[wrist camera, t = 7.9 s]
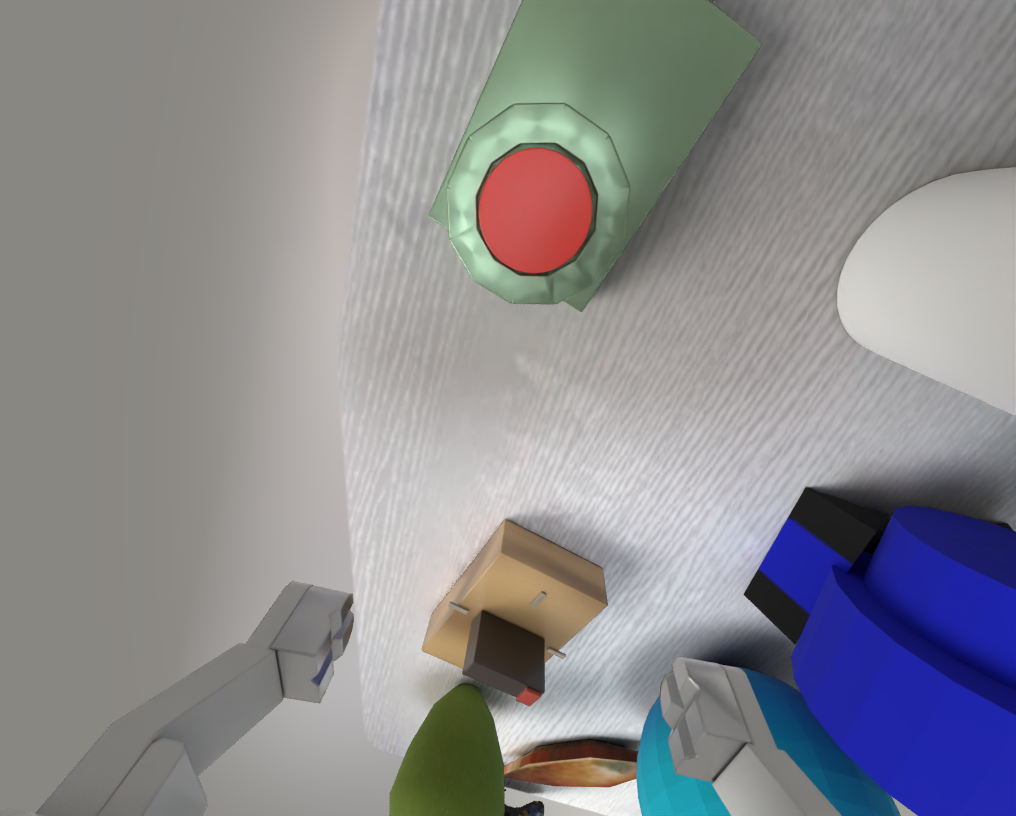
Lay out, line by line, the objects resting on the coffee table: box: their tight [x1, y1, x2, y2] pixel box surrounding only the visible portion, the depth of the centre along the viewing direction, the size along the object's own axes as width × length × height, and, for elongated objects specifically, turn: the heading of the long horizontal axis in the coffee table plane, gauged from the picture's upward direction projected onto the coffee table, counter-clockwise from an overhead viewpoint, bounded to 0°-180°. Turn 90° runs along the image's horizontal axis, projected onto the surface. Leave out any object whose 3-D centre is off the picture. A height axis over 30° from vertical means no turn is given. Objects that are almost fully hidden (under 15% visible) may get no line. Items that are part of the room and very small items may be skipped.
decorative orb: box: [636, 667, 901, 816], centre depth 27 cm, size 15×15×15 cm
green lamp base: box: [429, 0, 762, 312], centre depth 16 cm, size 12×8×4 cm
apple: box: [390, 684, 505, 816], centre depth 32 cm, size 9×8×12 cm
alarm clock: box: [744, 487, 1016, 816], centre depth 20 cm, size 12×12×15 cm
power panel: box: [421, 520, 608, 669], centre depth 29 cm, size 12×9×3 cm
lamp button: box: [479, 148, 592, 273], centre depth 15 cm, size 4×4×2 cm
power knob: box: [462, 610, 545, 706], centre depth 26 cm, size 5×2×4 cm, turn 60°
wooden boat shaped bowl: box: [504, 739, 638, 787], centre depth 39 cm, size 14×6×2 cm, turn 101°
